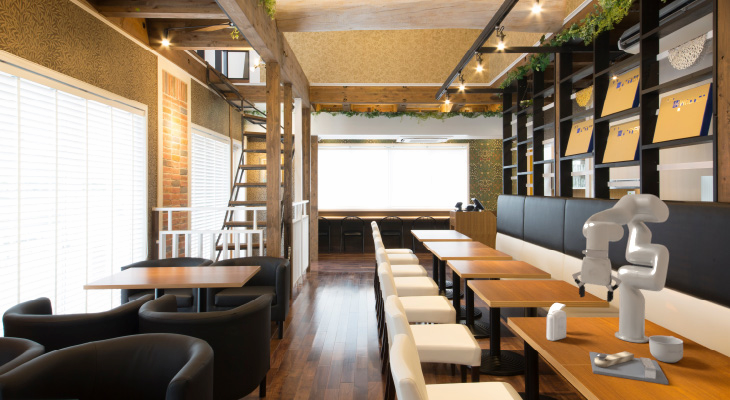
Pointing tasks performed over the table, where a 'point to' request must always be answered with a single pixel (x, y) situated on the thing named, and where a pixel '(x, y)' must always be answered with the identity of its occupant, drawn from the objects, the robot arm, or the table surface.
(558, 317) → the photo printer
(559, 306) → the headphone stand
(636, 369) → the slate board
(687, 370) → the table surface
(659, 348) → the teacup
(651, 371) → the keeper
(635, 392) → the table surface
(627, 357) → the link
